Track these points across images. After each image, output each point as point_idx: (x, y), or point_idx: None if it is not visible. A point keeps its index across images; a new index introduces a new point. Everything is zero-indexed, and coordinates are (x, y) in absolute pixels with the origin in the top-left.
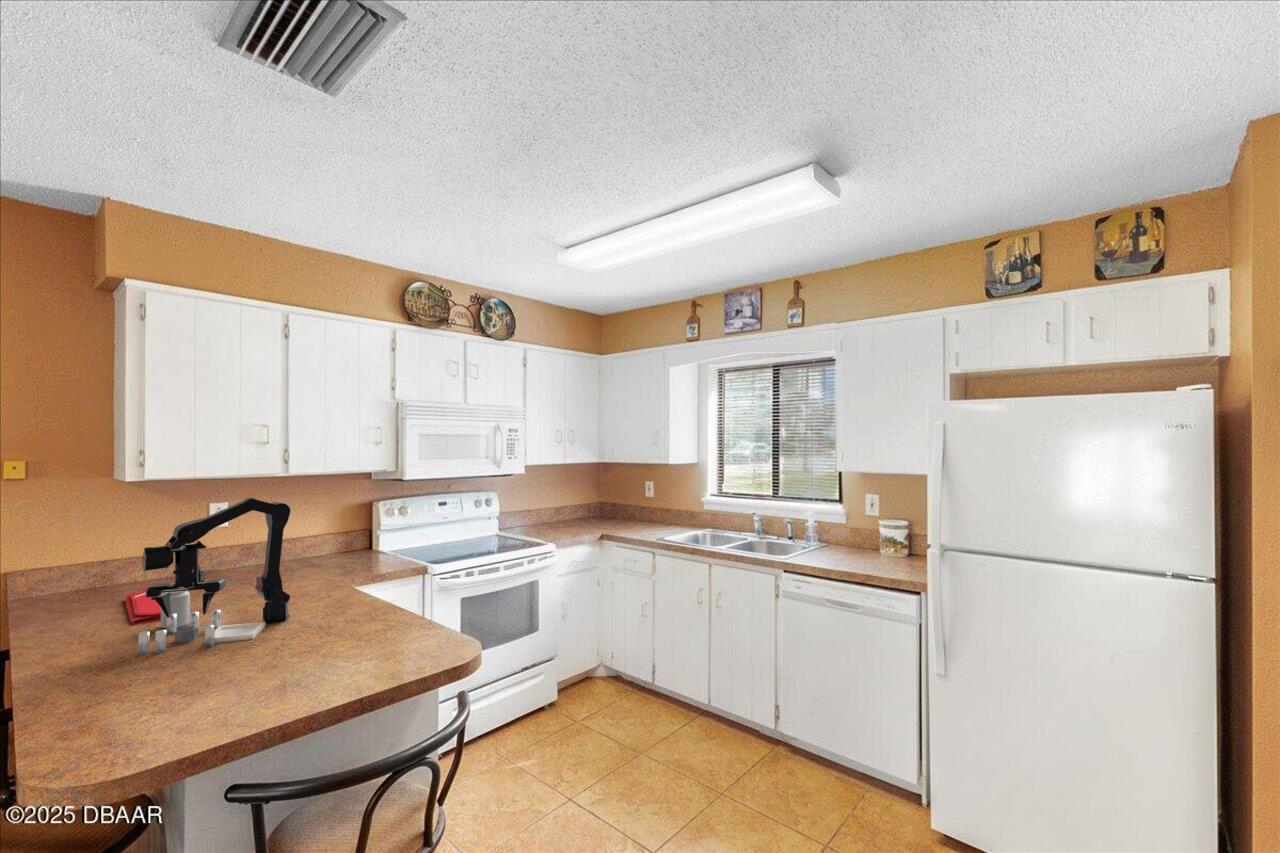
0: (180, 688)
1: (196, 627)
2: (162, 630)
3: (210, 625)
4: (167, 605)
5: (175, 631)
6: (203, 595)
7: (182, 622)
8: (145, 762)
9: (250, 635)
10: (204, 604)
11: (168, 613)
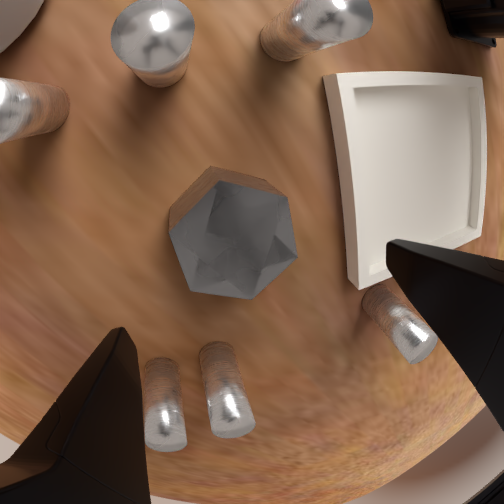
0: (381, 442)
1: (289, 221)
2: (238, 424)
3: (425, 343)
4: (122, 450)
5: (195, 290)
6: (500, 419)
7: (32, 3)
8: (389, 479)
9: (474, 236)
10: (455, 340)
11: (137, 383)
